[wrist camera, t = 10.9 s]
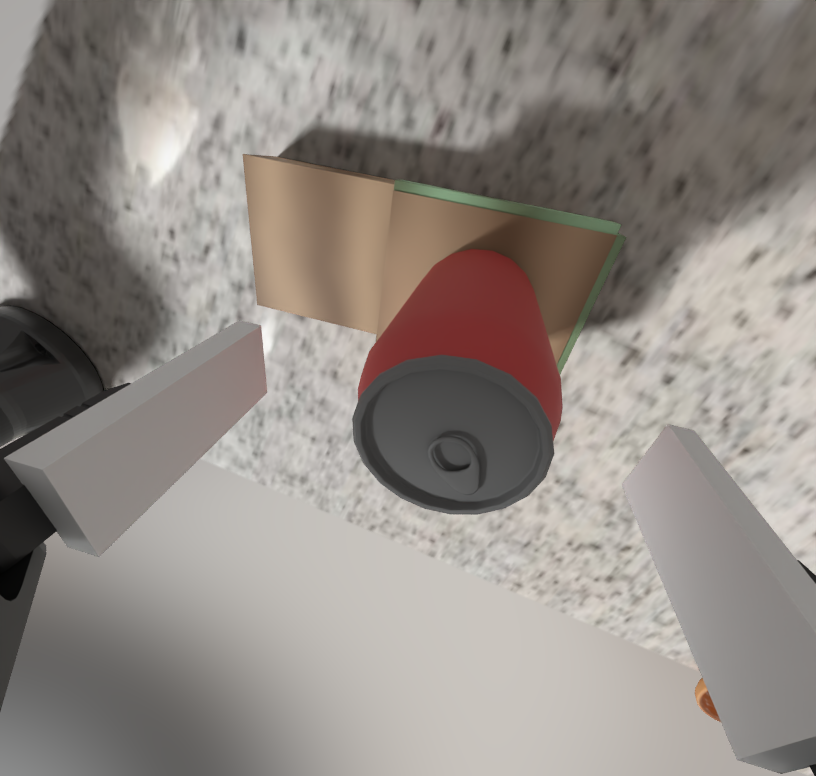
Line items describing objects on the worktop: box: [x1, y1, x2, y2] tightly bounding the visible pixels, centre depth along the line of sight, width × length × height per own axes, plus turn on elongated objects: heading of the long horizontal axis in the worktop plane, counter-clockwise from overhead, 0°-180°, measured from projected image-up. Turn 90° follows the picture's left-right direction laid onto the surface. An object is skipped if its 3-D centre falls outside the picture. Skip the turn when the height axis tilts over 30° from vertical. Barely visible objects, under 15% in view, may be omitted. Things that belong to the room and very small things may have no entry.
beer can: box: [352, 249, 562, 514], centre depth 14 cm, size 7×7×12 cm
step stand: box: [243, 154, 626, 375], centre depth 23 cm, size 22×10×8 cm, turn 81°
